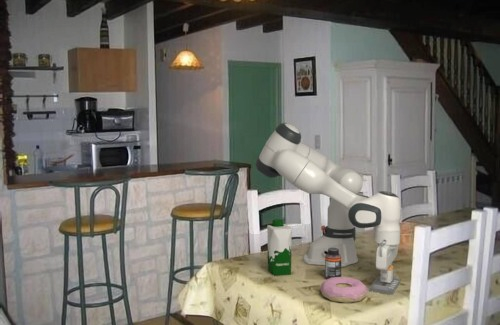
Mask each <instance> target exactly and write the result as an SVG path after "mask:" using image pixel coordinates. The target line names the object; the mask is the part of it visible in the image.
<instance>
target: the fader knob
mask: <svg viewBox="0 0 500 325" xmlns="http://www.w3.org/2000/svg"><path fill="white" fill-rule="evenodd" d="M379 271H380V275H379V276H380V281H381V282H388V283H391V281H392V280H393V275H394V274H393V273H394V265H390V266H389V267H388V277H387V278H383V277H382V271H381V270H379Z"/></svg>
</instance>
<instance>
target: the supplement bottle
mask: <svg viewBox="0 0 500 325" xmlns="http://www.w3.org/2000/svg"><path fill="white" fill-rule="evenodd" d="M324 269H325V270H324V273H325V274H324V275H325V280H327V279H330V278H334V277H342V267H341V255H340V254H339V249H338V248H328V253H327V254H326V256H325V265H324Z"/></svg>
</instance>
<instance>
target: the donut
mask: <svg viewBox="0 0 500 325" xmlns="http://www.w3.org/2000/svg"><path fill="white" fill-rule="evenodd" d="M320 292H321V294H322V296H323V297H324V298H326V299H328V300H329V301H331V302H335V303H344V304H345V303H346V304H348V303H356V302H357V303H358V302H360V301H362V300H363V299H364V298H365V297H367V294H368V291H367V286H366V285H365V284H364V283H363V282H362V281H361V280H360V279H356V278H353V277H347V276H341V277H334V278H330V279H324V280H323V282H322V283H321V285H320Z"/></svg>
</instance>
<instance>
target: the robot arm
mask: <svg viewBox="0 0 500 325" xmlns="http://www.w3.org/2000/svg"><path fill="white" fill-rule="evenodd" d="M301 139H302V134H301V132H300V131H299V130H298V128H297V127H296V126H294V125H293V124H290V123H287V122H283V123H282V122H281V123H280V124H278V125H277V126H276V127H275V129H274V131H273V132H272V133H271V135H269V138H268V139H267V140H266V142H265V145H264V146H263V148H262V150H261V152H260V154H259V156H257V158H256V161H255V168H256V170H257V171H259V173H261V175H263V176H265V177H268V178H271V179H275V178H277V177H282V178H283V179H285V180H286V181H287V182H288V183H290V184H291V185H292V186H294V187H295V188H297V189H298V190H300V191H302V192H305V193H306V194H309V195H313V194H314V195H315V194H316V195H322V196H323V195H324V196H326V197H328V198H330V203H329V205H328V206H327V225H321V227H320V230H321V231H322V233H321V234H322V235H321V236H319V237H318V238H316V239H315V240H314V241H312V242H311V244H310V246H309V249H308V252H307V253H305V254H304V255H303V262H304V263H306V264H308V265H317V266H325V256H326V254H327V253H328V248H338V249H339V254H340V255H341V268H342V267H343V268H344V267H347V266H350V265H354V264H356V263H358V262H359V258H358V255H357V250H356V236H357V229H356V228H359V229H367V228H368V229H369V228H374V243H376V244H377V248H376V255H375V269H376V270H379V271H380V270H381V271H382V277H383V278H387V277H388V267H389V266H390V265H392V264H393V262H394V260H395V259H396V258H397V256H398V251H399V244H401V235H402V234H401V232H402V231H401V230H402V229H401V226H400V222H401V218H402V207H401V206H402V205H401V199H400V197H399V196H398V195H397V194H395V193H394V192H390V191H385V190H382V191H381V190H380V191H377V192H376V193H375V194H373V195H372V196H371V195H370V196H367V195H363V194H359V193H360V192H361V191H362V188H363V185H364V182H363V178H362V177H361V175H360V174H359V173H358V172H357V171H355V170H354V169H351V168H348V167H344V166H342V165H340V164H338V163H336V162H334V161H333V160H331V159H330V158H329V157H327V156H326V155H325V154H323V153H321V152H319V151H317V150H315V149H314V148H312V147H310V146H309V145H307V144H305V143H303V142H301ZM392 266H393V265H392Z"/></svg>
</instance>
